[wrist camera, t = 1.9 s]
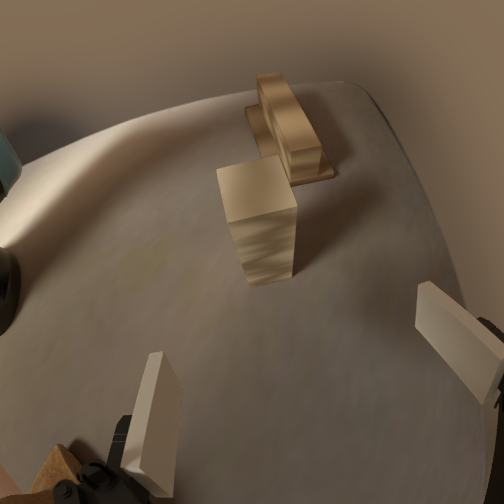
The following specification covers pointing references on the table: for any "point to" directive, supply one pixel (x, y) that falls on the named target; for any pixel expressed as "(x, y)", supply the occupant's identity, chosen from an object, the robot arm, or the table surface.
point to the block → (260, 218)
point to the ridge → (286, 132)
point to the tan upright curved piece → (49, 478)
